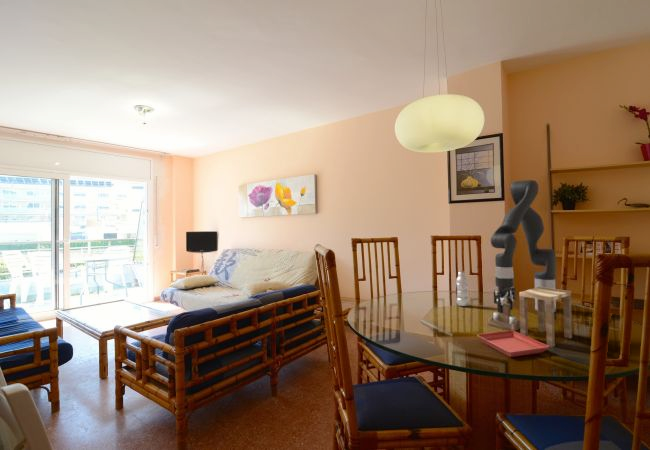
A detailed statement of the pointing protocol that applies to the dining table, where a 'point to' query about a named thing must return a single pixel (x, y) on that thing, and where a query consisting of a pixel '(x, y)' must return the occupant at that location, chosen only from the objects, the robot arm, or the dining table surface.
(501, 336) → the plant saucer
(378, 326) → the dining table surface
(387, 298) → the dining table surface
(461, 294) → the plastic bottle
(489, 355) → the dining table surface
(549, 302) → the stool
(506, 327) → the caddy
